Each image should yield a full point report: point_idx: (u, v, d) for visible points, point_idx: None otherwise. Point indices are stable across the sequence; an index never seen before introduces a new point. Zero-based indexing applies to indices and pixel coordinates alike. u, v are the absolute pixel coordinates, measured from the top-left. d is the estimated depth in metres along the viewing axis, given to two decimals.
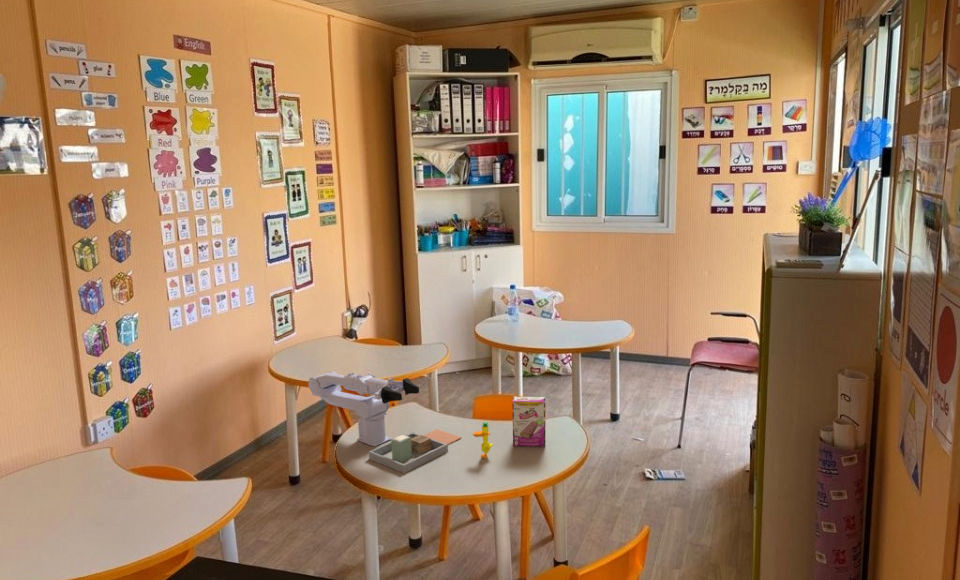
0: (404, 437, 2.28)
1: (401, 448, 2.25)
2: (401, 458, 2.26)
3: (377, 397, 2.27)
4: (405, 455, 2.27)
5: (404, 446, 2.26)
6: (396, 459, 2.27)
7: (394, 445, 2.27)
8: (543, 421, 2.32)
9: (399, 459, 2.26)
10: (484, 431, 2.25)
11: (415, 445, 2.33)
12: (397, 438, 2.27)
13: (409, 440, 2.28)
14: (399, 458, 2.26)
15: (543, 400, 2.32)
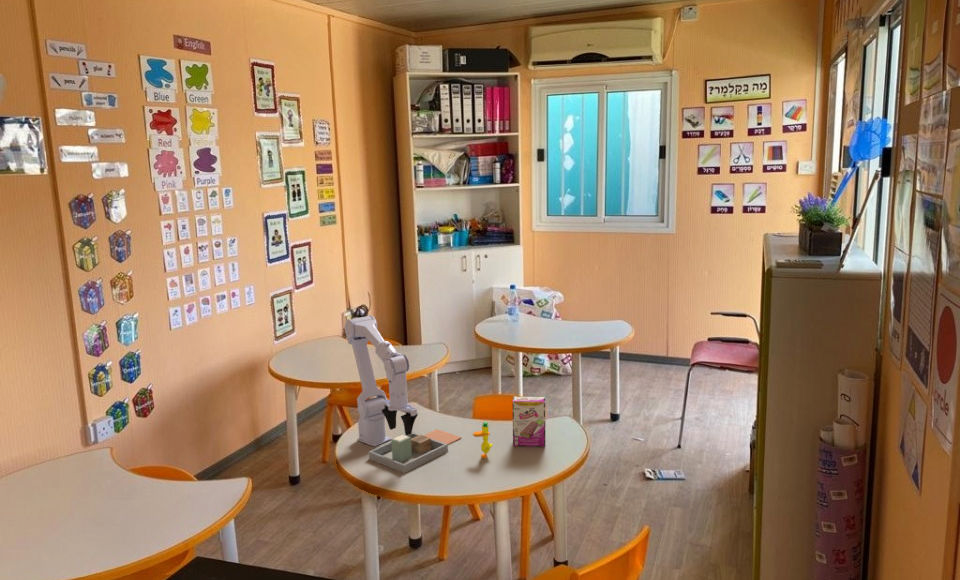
0: (404, 437, 2.28)
1: (401, 448, 2.25)
2: (401, 458, 2.26)
3: None
4: (405, 455, 2.27)
5: (404, 446, 2.26)
6: (396, 459, 2.27)
7: (394, 445, 2.27)
8: (543, 421, 2.32)
9: (399, 459, 2.26)
10: (484, 431, 2.25)
11: (415, 445, 2.33)
12: (397, 438, 2.27)
13: (409, 440, 2.28)
14: (399, 458, 2.26)
15: (543, 400, 2.32)
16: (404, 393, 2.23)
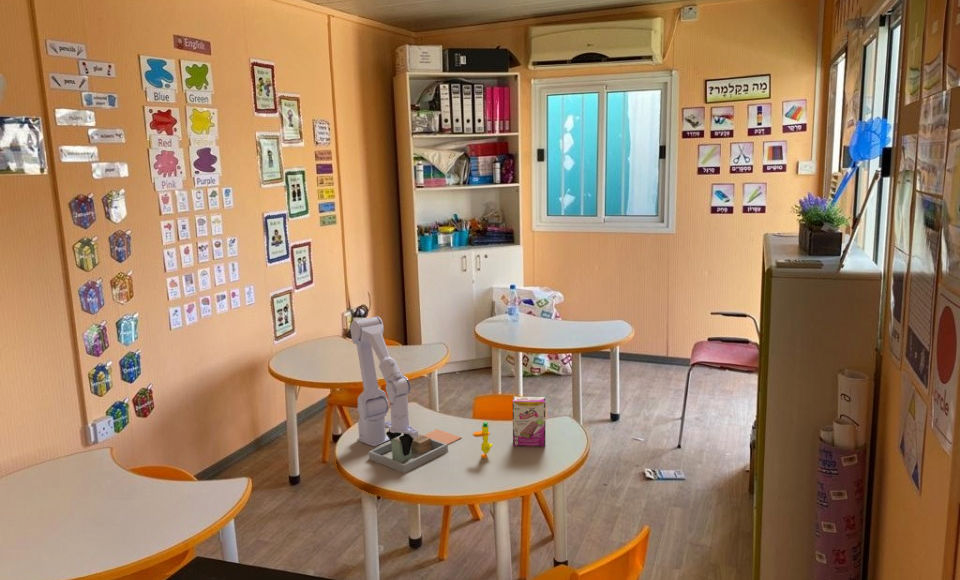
0: None
1: (401, 448, 2.25)
2: (401, 458, 2.26)
3: None
4: None
5: None
6: (396, 459, 2.27)
7: (394, 445, 2.27)
8: (543, 421, 2.32)
9: (399, 459, 2.26)
10: (484, 431, 2.25)
11: (415, 445, 2.33)
12: (397, 438, 2.27)
13: None
14: (399, 457, 2.26)
15: (543, 400, 2.32)
16: (405, 415, 2.24)
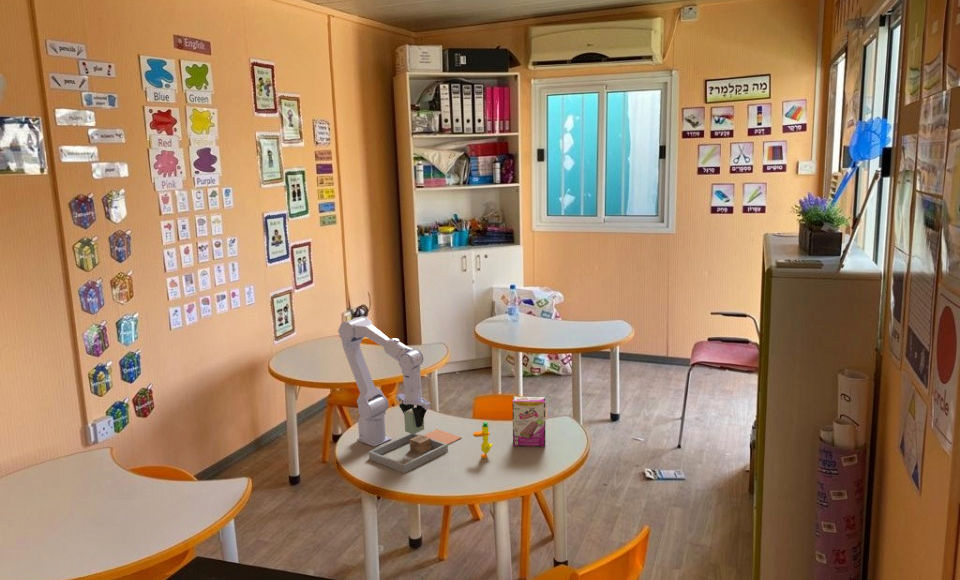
0: None
1: (413, 420, 2.29)
2: (414, 430, 2.30)
3: None
4: (418, 427, 2.31)
5: None
6: (409, 431, 2.31)
7: (407, 417, 2.30)
8: (543, 421, 2.32)
9: (411, 431, 2.30)
10: (484, 431, 2.25)
11: (415, 445, 2.33)
12: (410, 410, 2.31)
13: None
14: (412, 429, 2.29)
15: (543, 400, 2.32)
16: (418, 387, 2.28)
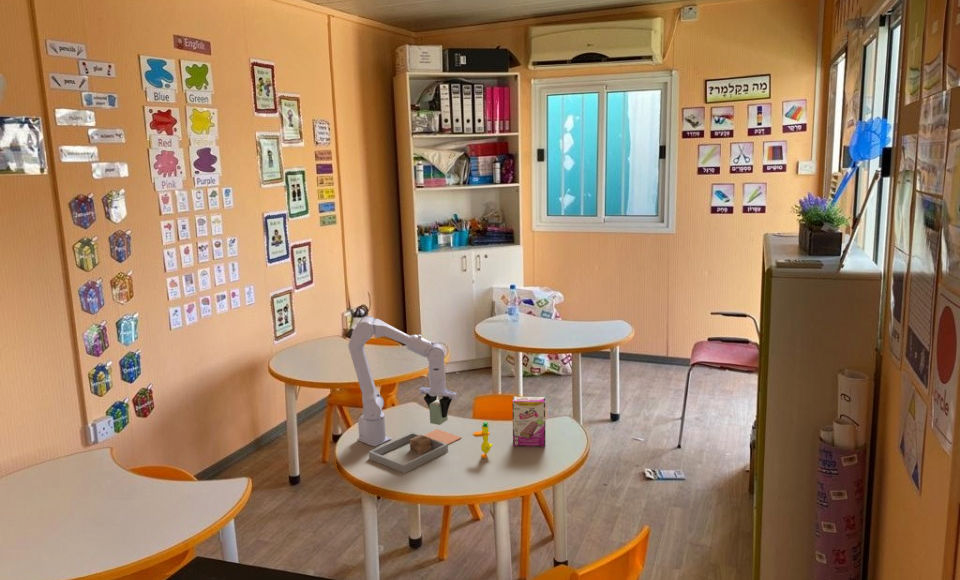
0: None
1: (440, 411, 2.39)
2: (440, 421, 2.39)
3: None
4: (443, 418, 2.41)
5: None
6: (435, 422, 2.40)
7: (432, 409, 2.39)
8: (543, 421, 2.32)
9: (438, 422, 2.39)
10: (484, 431, 2.25)
11: (415, 445, 2.33)
12: (434, 402, 2.40)
13: None
14: (438, 420, 2.39)
15: (543, 400, 2.32)
16: (444, 379, 2.38)
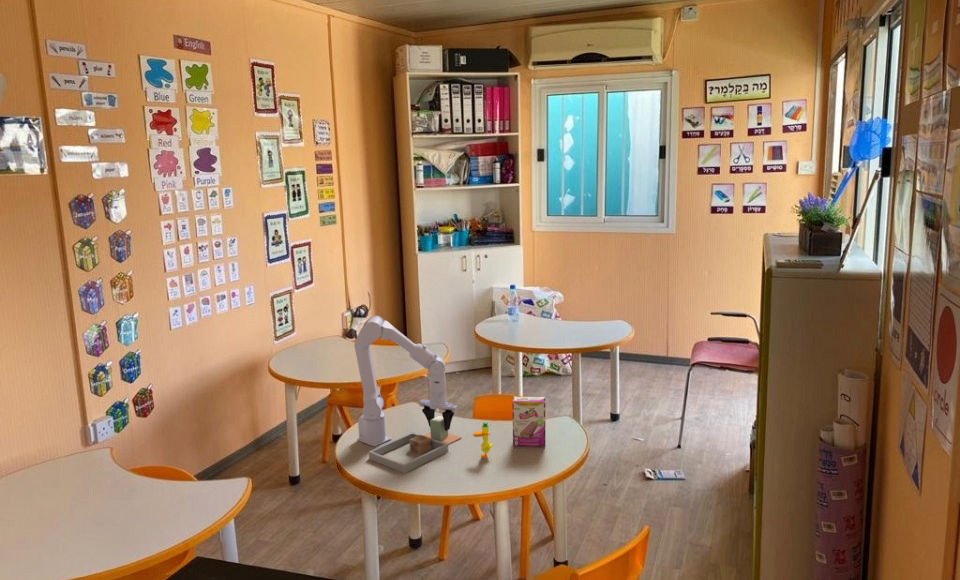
0: (441, 417, 2.42)
1: (440, 428, 2.40)
2: (441, 437, 2.40)
3: None
4: (443, 434, 2.42)
5: (442, 426, 2.41)
6: (436, 439, 2.41)
7: (433, 425, 2.40)
8: (543, 421, 2.32)
9: (438, 438, 2.40)
10: (484, 431, 2.25)
11: (415, 445, 2.33)
12: (435, 419, 2.41)
13: None
14: (439, 437, 2.40)
15: (543, 400, 2.32)
16: (444, 392, 2.39)
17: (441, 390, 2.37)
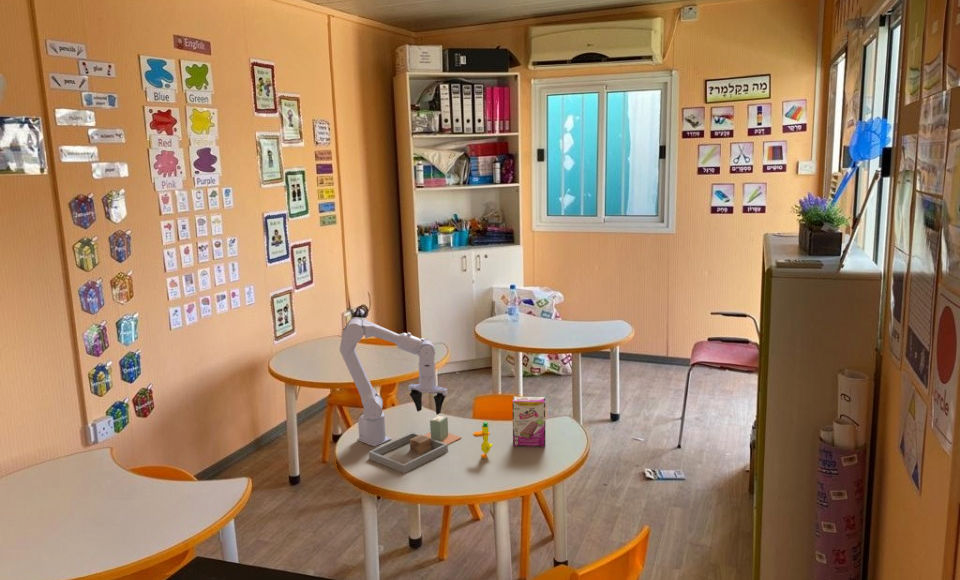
0: (441, 417, 2.42)
1: (440, 428, 2.40)
2: (441, 437, 2.40)
3: None
4: (443, 434, 2.42)
5: (442, 426, 2.41)
6: (436, 439, 2.41)
7: (433, 425, 2.40)
8: (543, 421, 2.32)
9: (438, 438, 2.40)
10: (484, 431, 2.25)
11: (415, 445, 2.33)
12: (435, 419, 2.41)
13: (446, 420, 2.43)
14: (439, 437, 2.40)
15: (543, 400, 2.32)
16: (434, 375, 2.40)
17: (431, 373, 2.38)
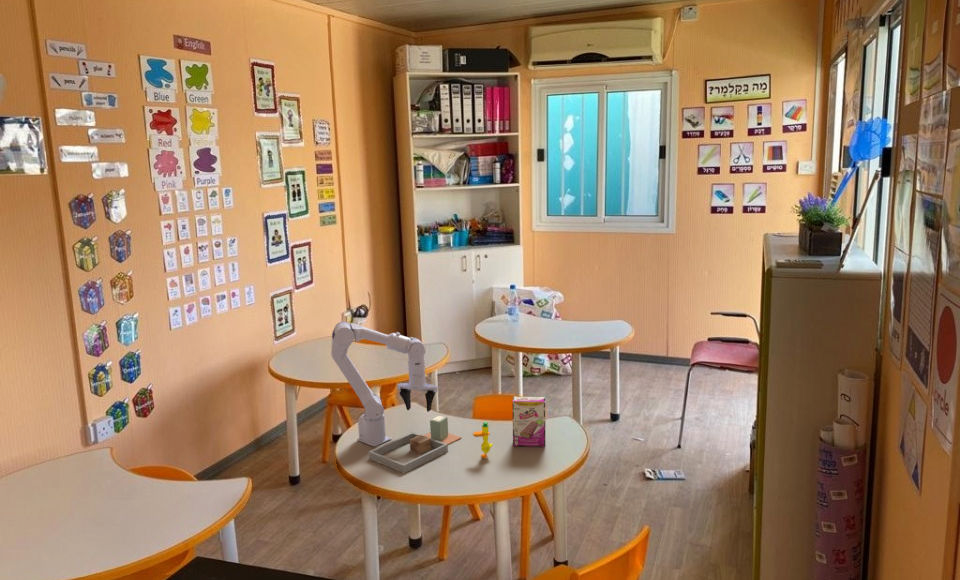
0: (441, 417, 2.42)
1: (440, 428, 2.40)
2: (441, 437, 2.40)
3: None
4: (443, 434, 2.42)
5: (442, 426, 2.41)
6: (436, 439, 2.41)
7: (433, 425, 2.40)
8: (543, 421, 2.32)
9: (438, 438, 2.40)
10: (484, 431, 2.25)
11: (415, 445, 2.33)
12: (435, 419, 2.41)
13: (446, 420, 2.43)
14: (439, 437, 2.40)
15: (543, 400, 2.32)
16: (424, 373, 2.42)
17: (421, 371, 2.40)
